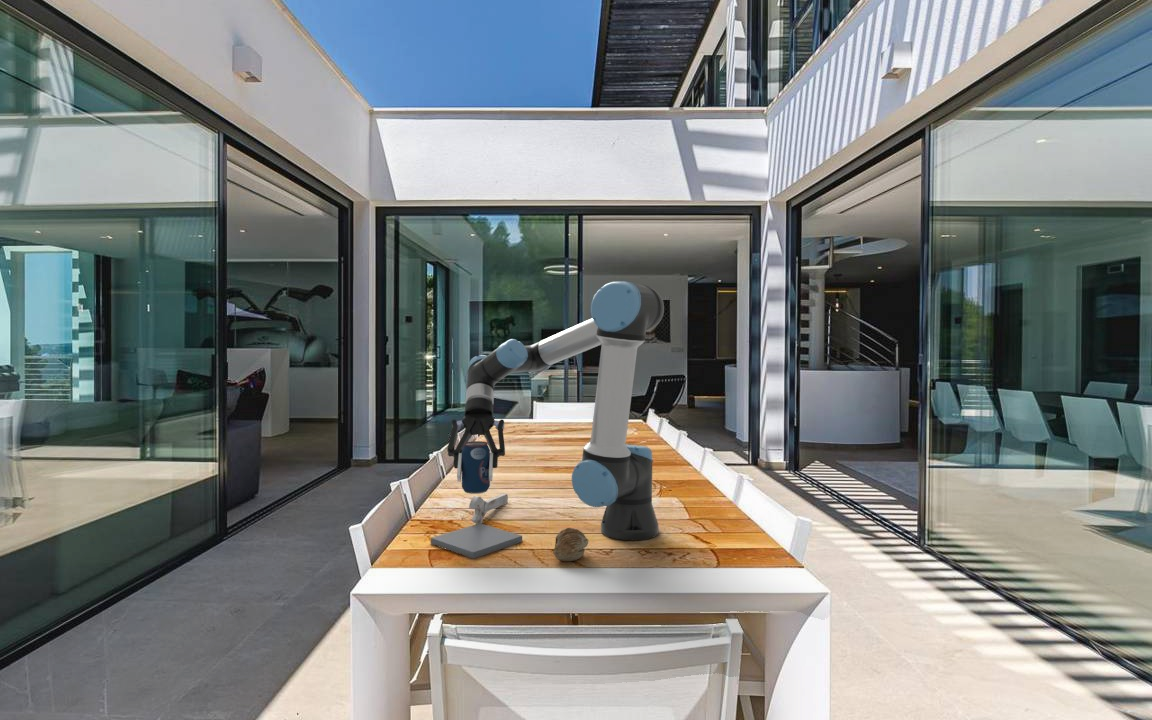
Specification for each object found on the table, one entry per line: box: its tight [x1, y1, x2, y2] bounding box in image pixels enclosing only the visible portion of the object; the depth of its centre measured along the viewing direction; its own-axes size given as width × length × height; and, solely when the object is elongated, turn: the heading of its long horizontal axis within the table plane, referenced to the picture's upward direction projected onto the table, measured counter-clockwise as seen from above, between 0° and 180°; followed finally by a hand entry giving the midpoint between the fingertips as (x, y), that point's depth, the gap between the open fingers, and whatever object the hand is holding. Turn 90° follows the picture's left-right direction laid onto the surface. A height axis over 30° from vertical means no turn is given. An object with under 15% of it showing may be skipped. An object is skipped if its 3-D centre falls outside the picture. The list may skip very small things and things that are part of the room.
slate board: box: [430, 523, 523, 559], centre depth 153 cm, size 16×16×2 cm
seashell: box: [553, 527, 589, 562], centre depth 143 cm, size 9×7×8 cm
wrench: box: [468, 493, 509, 525], centre depth 178 cm, size 8×2×30 cm
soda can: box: [461, 440, 491, 495], centre depth 153 cm, size 7×7×12 cm
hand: (474, 478), depth 150 cm, fingers closed on soda can, 7 cm apart
